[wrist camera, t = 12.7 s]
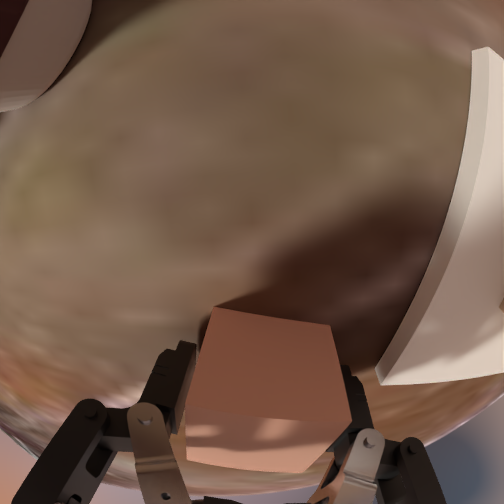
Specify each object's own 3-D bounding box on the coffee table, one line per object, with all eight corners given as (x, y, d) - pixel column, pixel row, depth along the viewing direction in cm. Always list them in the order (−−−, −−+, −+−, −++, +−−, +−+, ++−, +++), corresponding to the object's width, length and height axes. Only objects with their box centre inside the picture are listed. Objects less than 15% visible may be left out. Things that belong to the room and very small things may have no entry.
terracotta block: (214, 305, 11) (185, 403, 7) (329, 323, 11) (352, 421, 7) (206, 378, 13) (187, 459, 9) (298, 391, 13) (302, 472, 9)
